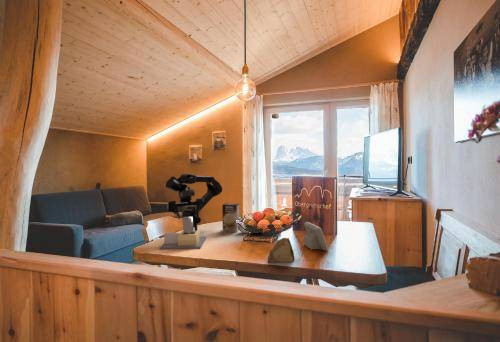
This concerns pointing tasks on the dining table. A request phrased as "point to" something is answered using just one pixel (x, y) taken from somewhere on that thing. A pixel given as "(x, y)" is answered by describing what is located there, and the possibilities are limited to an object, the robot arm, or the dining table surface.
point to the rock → (282, 251)
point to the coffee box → (230, 217)
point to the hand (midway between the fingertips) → (188, 217)
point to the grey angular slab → (314, 237)
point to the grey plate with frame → (183, 240)
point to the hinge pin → (188, 225)
